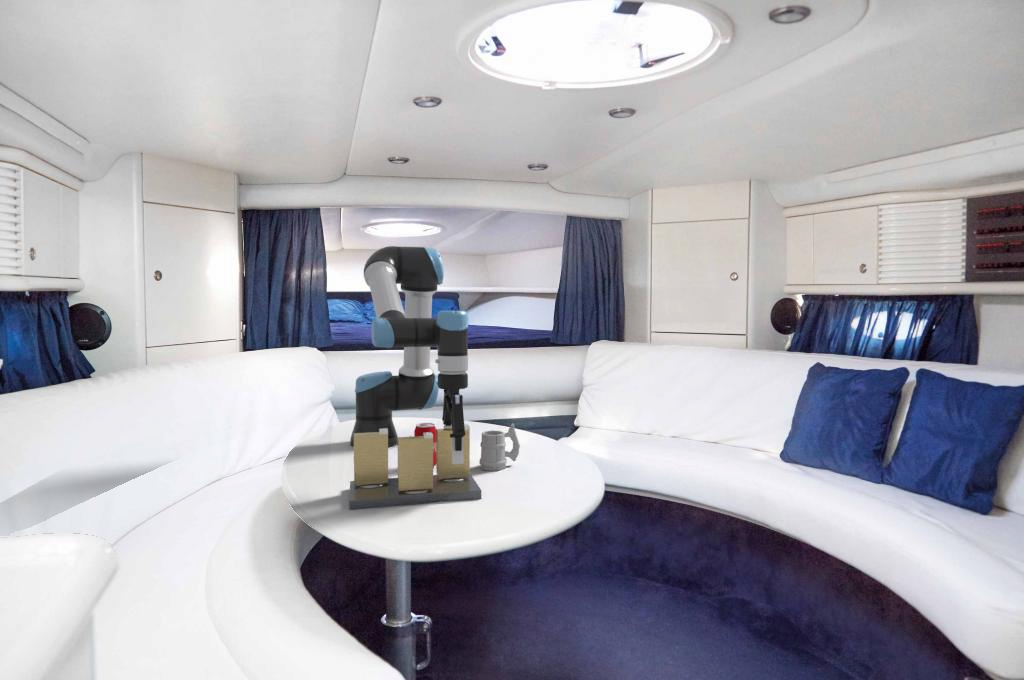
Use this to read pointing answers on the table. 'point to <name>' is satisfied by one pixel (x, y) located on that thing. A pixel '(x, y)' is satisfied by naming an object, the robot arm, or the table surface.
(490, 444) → the mug
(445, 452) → the tan upright panel
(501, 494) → the table surface
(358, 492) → the plate
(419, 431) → the beverage can
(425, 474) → the tan grey-ended block
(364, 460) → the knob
